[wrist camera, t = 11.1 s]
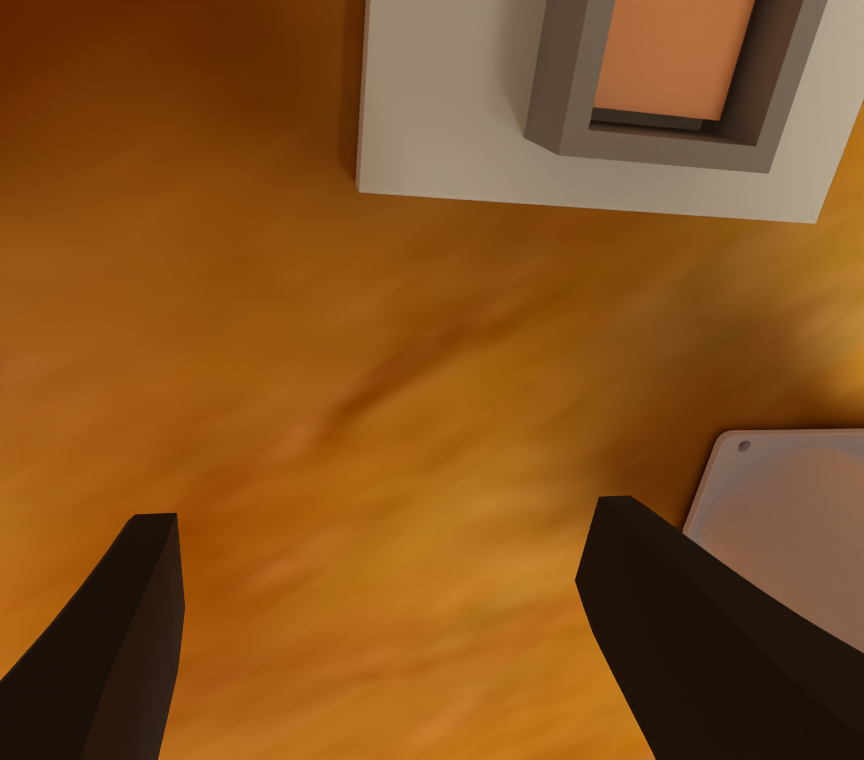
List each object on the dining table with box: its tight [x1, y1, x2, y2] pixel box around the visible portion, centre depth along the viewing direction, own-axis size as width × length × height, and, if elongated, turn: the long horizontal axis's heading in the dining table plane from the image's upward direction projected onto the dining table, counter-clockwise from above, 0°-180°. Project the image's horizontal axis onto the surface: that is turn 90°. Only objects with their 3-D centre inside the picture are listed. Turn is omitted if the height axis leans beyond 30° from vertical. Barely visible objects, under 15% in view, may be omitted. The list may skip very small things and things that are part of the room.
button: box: [593, 0, 755, 121], centre depth 16 cm, size 4×4×1 cm
